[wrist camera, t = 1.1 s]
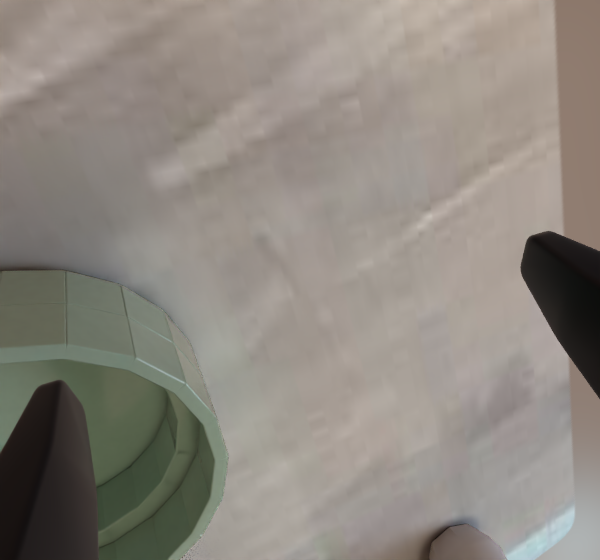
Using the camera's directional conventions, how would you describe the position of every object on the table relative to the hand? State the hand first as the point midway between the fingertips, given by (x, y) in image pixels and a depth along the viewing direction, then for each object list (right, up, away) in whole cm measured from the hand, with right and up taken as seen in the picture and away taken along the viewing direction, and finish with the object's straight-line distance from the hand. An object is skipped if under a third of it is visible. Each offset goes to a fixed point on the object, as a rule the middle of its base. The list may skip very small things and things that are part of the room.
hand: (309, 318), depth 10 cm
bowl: (-12, -5, +15) cm, 20 cm away
